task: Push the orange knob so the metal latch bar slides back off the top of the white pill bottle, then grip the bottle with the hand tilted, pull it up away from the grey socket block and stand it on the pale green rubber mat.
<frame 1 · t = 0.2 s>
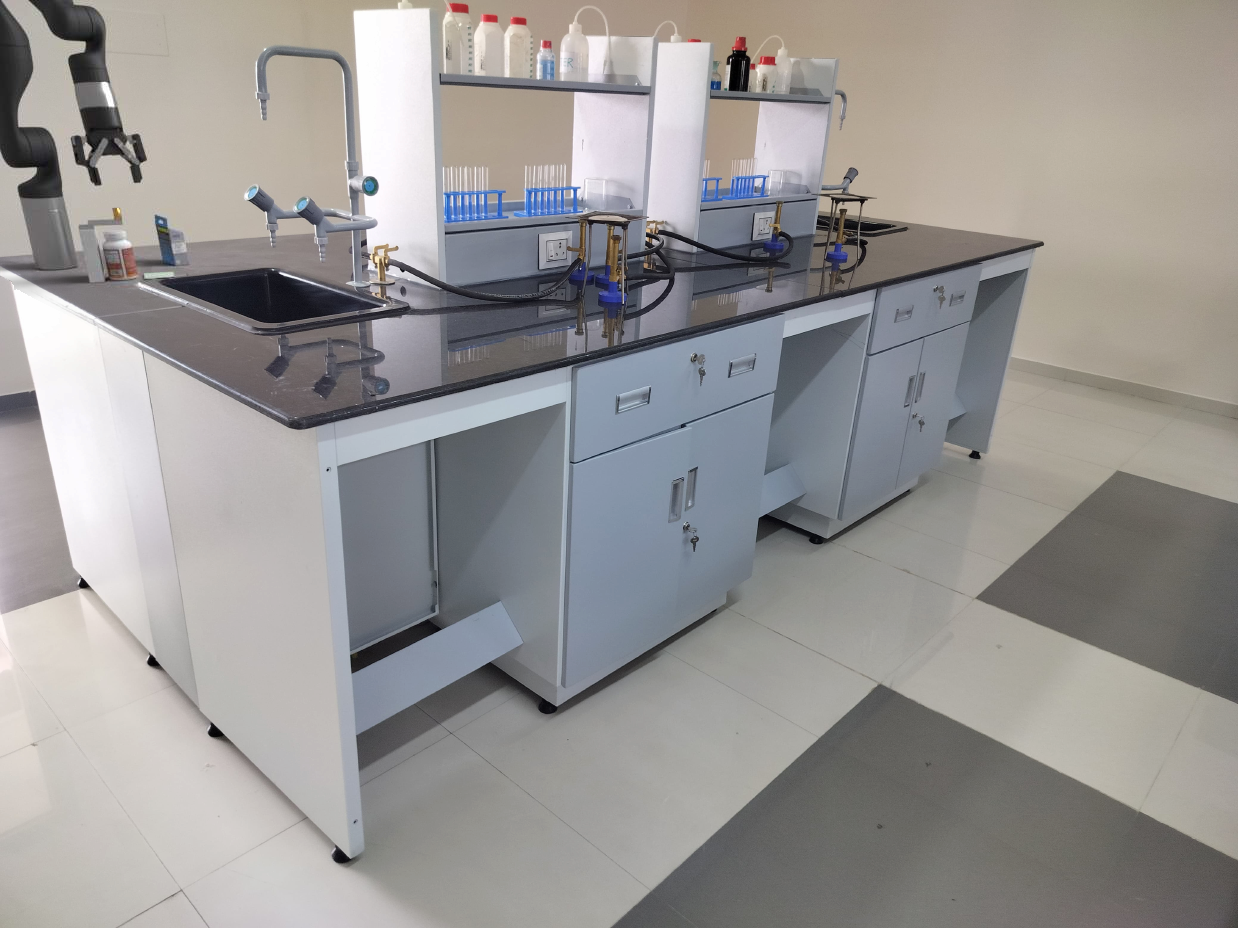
hand: (118, 184, 193), 23 cm above the table, tool pointing down, fingers open, 8 cm apart
mat: (159, 276, 212), on the table
label tape box: (175, 264, 229), on the table
socket panel: (97, 278, 207), on the table
pill bottle: (123, 279, 209), on the table
clip: (104, 216, 202), point 15 cm above the table, slide at 0.0 cm
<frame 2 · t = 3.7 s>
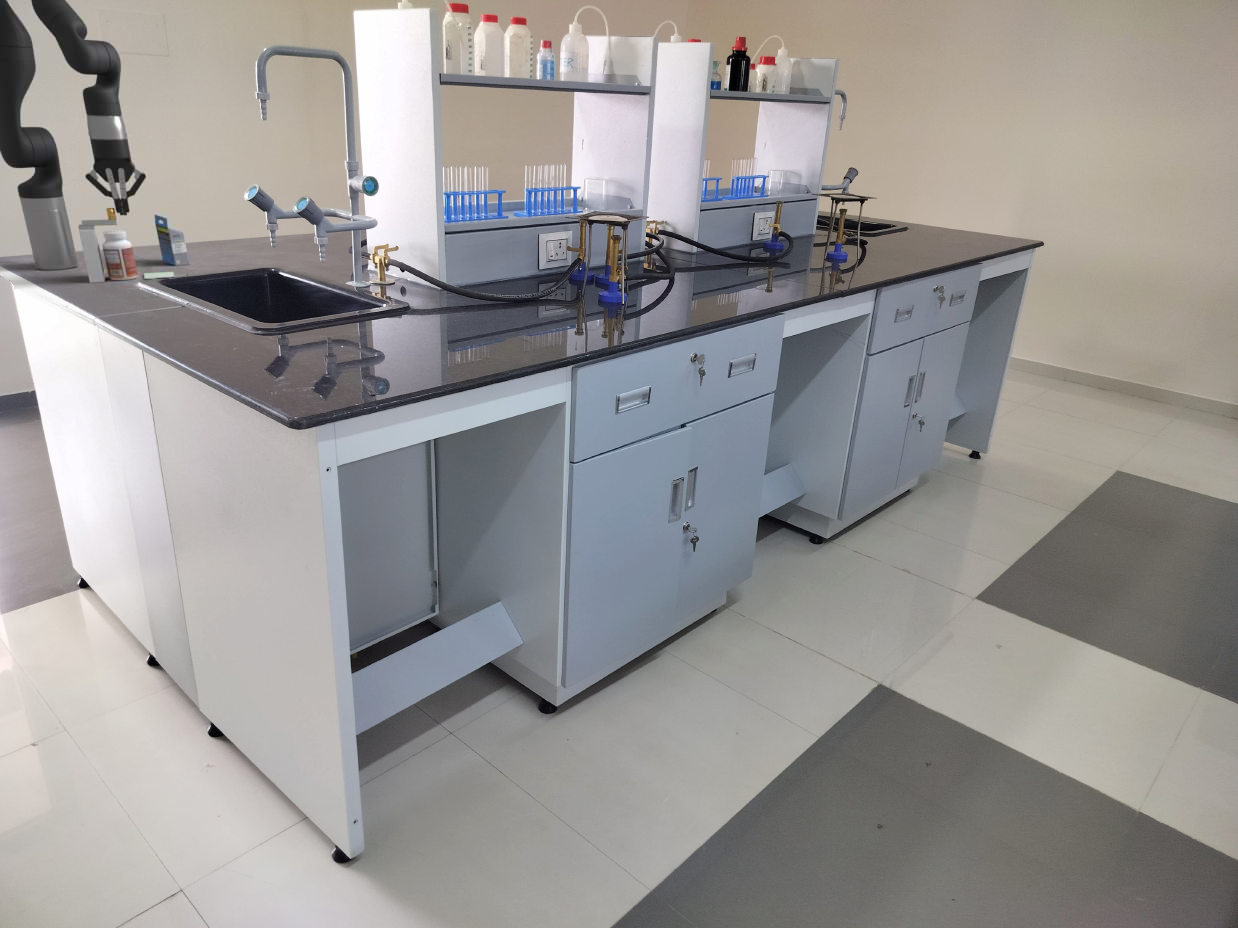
hand: (123, 215, 204), 15 cm above the table, tool pointing down, fingers closed
clip: (98, 217, 201), point 15 cm above the table, slide at 1.2 cm, touching gripper
everything else where it was.
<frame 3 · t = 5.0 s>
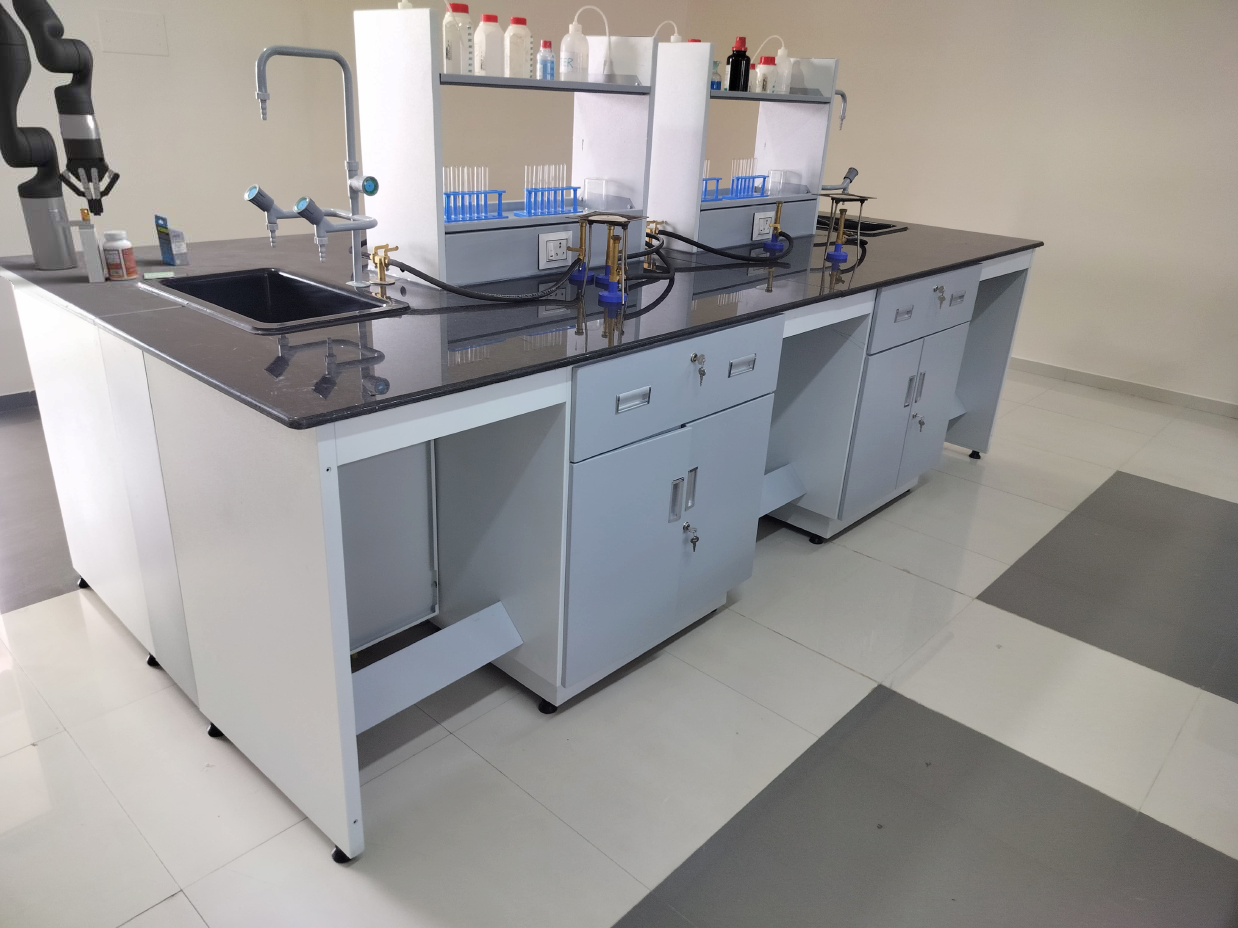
hand: (97, 215, 201), 15 cm above the table, tool pointing down, fingers closed
clip: (72, 217, 199), point 15 cm above the table, slide at 6.5 cm, touching gripper
everything else where it was.
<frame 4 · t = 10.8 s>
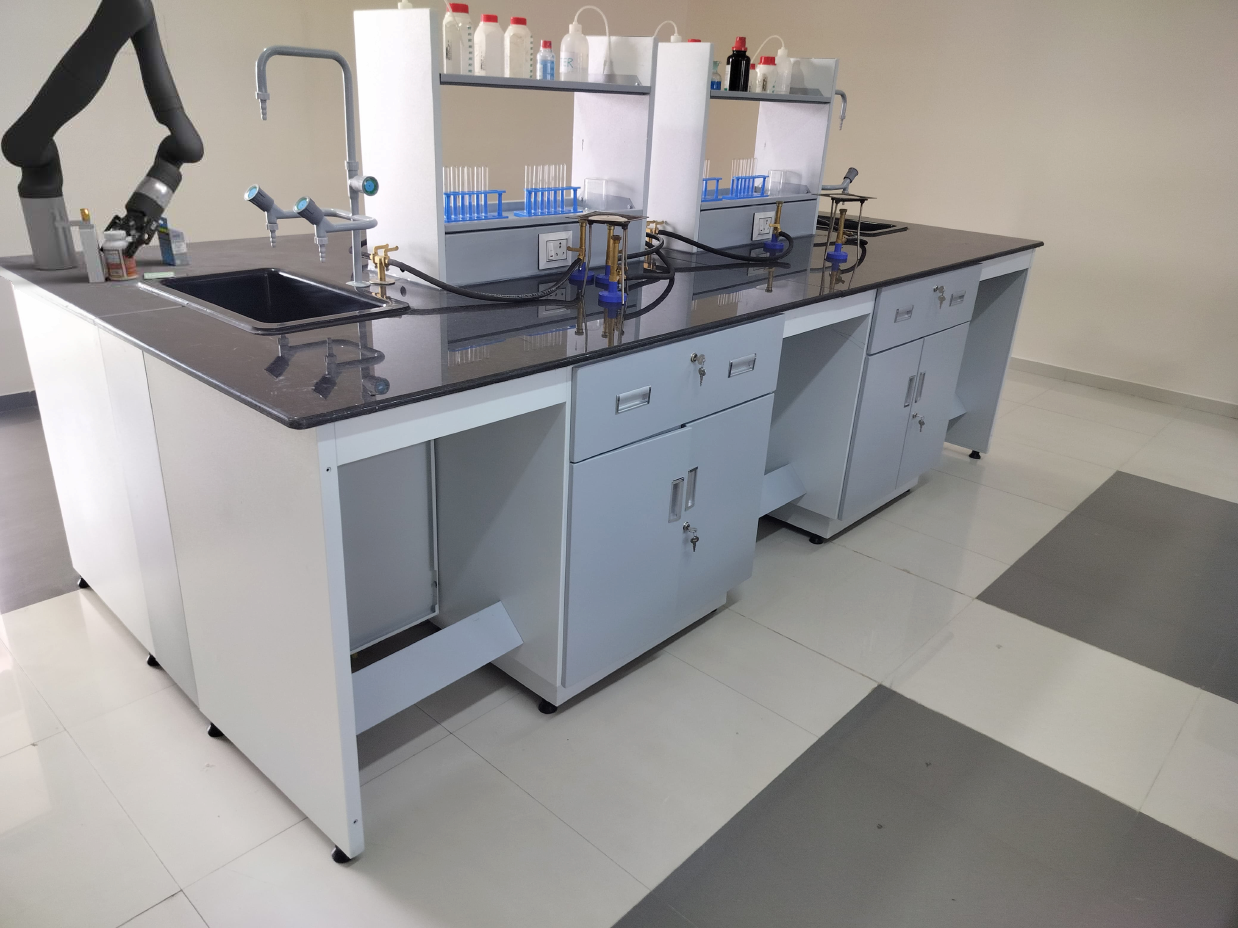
hand: (115, 255, 205), 6 cm above the table, tool tilted 45°, fingers open, 8 cm apart
clip: (71, 217, 199), point 15 cm above the table, slide at 6.5 cm
everything else where it was.
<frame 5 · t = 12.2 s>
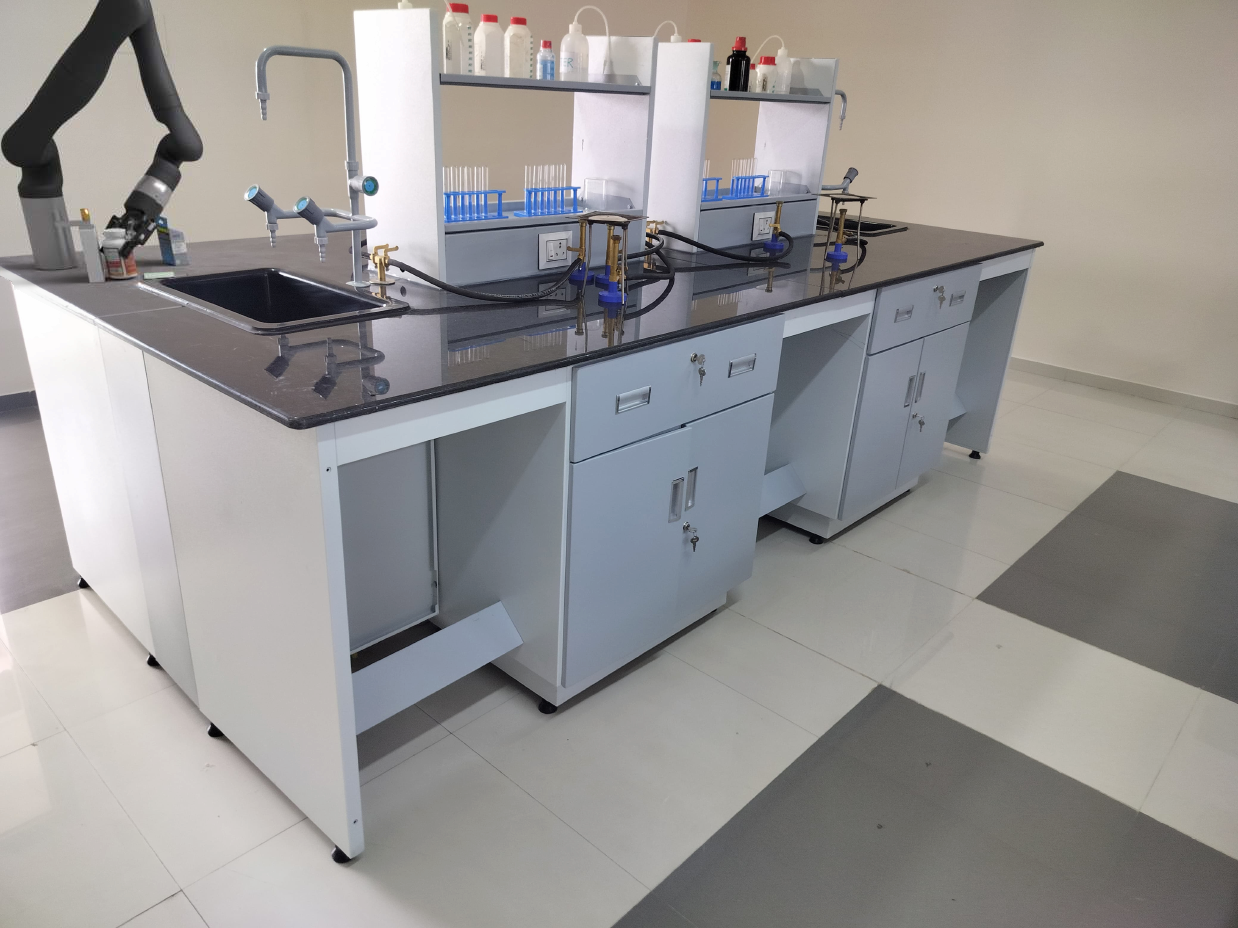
hand: (113, 255, 205), 6 cm above the table, tool tilted 45°, fingers closed on pill bottle, 6 cm apart
pill bottle: (123, 277, 209), on the table, touching gripper
everything else where it was.
when the fingers open (7 cm above the table, at t = 17.7 s): pill bottle drops 1 cm, resting on mat.
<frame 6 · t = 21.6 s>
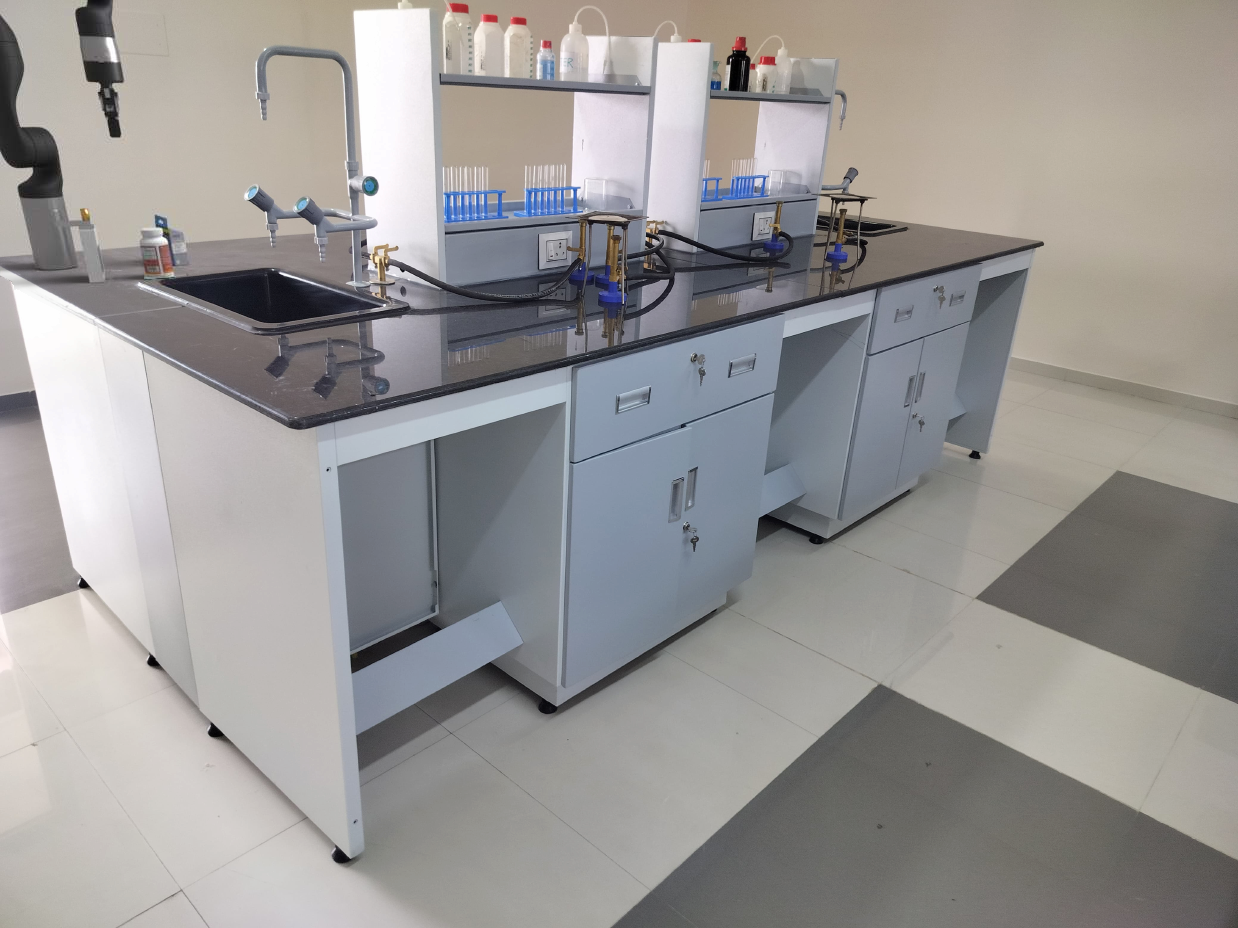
hand: (116, 136, 200), 32 cm above the table, tool pointing down, fingers open, 8 cm apart
pill bottle: (159, 275, 212), resting on mat
everything else where it was.
at the end: clip slide at 6.5 cm; pill bottle 0.2 cm from the mat (horizontally); pill bottle tilted 0° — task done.
